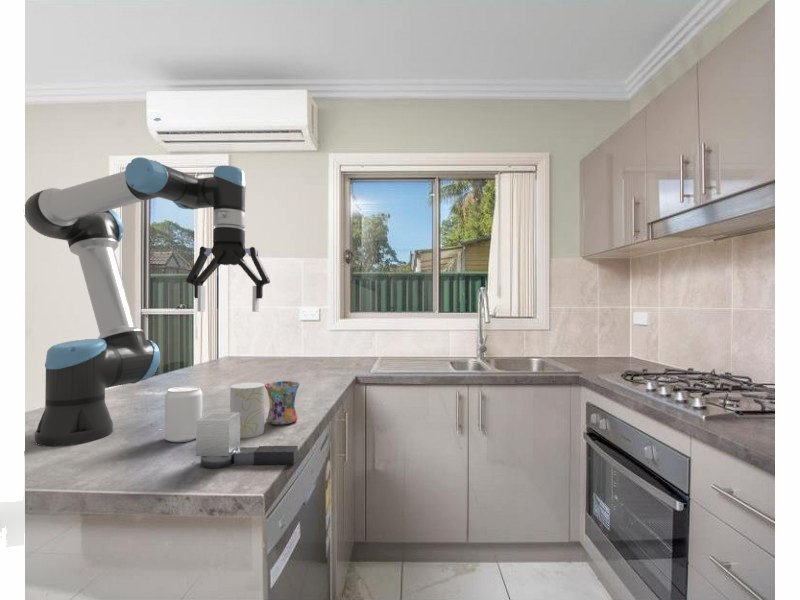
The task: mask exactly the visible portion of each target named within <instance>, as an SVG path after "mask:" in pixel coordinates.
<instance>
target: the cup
mask: <svg viewBox="0 0 800 600" xmlns="http://www.w3.org/2000/svg"><path fill="white" fill-rule="evenodd" d="M229 390H230V391H229V392H230V395H229V396H230V399H229V404H230V409H229V412H240V439H245V438H254V437H258V436H261V435H262V434H264V433H265V384H264V383H263V382H241V383H235V384H232V385H230V388H229Z"/></svg>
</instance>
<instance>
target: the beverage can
mask: <svg viewBox="0 0 800 600" xmlns="http://www.w3.org/2000/svg"><path fill="white" fill-rule="evenodd" d="M202 417H203V391H202V390H201V387H200V386H198V385H197V386H196V385H185V386H177V387H170V388H168V389H167V392H166V393H165V396H164V440H166V441H169V442H170V443H171V442H172V443H185V442H191V441H193V440H194V441H195V440H196V421H197V420H198V419H200V418H202Z"/></svg>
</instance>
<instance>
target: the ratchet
mask: <svg viewBox="0 0 800 600" xmlns="http://www.w3.org/2000/svg"><path fill="white" fill-rule="evenodd" d="M298 453H299V446H298V445H259V446H258V447H257V446H256V447H254V446H253V447H252V446H251V447H250V446H249V447H248V446H246V447H240V446H239V447H238V448H237V449H236V450H235V451H234V452H233V453H231V454H230V455H229V456H200V467H201V468H203V469H206V470H221V469H225V468H226V469H227V468H229V467H232V466H235V467H237V466H238V467H241V466H243V467H245V466H246V467H247V466H254V467H257V466H259V467H263V466H266V467H267V466H269V467H270V466H271V467H272V466H273V467H274V466H295V464H296V463H297V461H298V459H299V458H298V457H299V455H298Z"/></svg>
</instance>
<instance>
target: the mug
mask: <svg viewBox="0 0 800 600" xmlns="http://www.w3.org/2000/svg"><path fill="white" fill-rule="evenodd" d="M300 384H301V383H300V382H298V381H295V380H294V381H291V380H288V381H287V380H279V381H278V380H277V381H271V382H268V383H267V382H266V383H265V384H264V388H265V389H266V392H267V396H268V400H269V411H268V415H267V417H266V419H265V421H266V422H267V423H268V424H271V425H274V426H275V425H276V426H280V425H288V424H292V423H294V422H296V421H298V419H299V417H298V414H297V412H296V407H295V405H296V403H295V402H296V397H297V392H298V389H299V386H300Z"/></svg>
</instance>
